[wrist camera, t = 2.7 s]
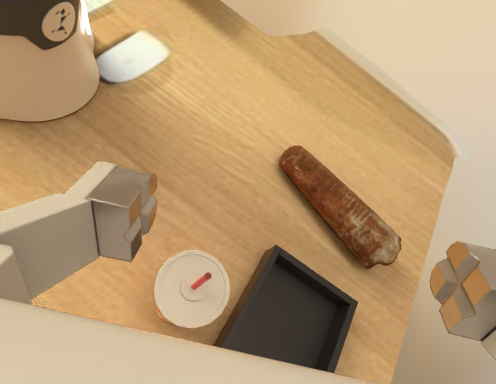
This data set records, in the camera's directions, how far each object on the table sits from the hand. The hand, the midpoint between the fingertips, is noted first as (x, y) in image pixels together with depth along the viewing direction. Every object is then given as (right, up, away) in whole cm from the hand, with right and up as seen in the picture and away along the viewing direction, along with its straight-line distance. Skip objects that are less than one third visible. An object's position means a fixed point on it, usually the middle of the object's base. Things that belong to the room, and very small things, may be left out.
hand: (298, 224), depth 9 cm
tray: (+2, -15, +26) cm, 31 cm away
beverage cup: (-9, -10, +25) cm, 28 cm away
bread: (+9, -2, +36) cm, 37 cm away
